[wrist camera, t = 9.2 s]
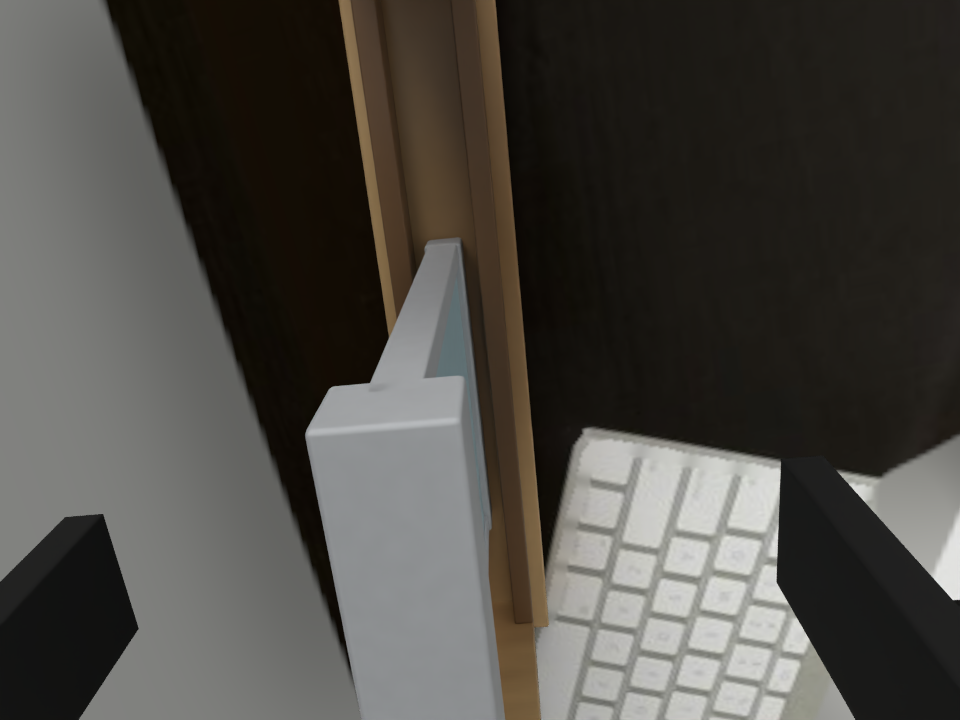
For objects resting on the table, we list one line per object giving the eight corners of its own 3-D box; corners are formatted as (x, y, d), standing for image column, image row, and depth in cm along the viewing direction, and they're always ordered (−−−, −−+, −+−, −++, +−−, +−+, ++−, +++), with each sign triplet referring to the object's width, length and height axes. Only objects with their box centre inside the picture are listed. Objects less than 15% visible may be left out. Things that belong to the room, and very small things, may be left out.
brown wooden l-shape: (436, 607, 27) (374, 1162, 13) (333, -95, 20) (-68, -555, 6) (546, 599, 27) (602, 1154, 13) (485, -113, 20) (460, -639, 5)
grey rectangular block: (446, 517, 24) (400, 924, 12) (409, 241, 21) (301, 432, 9) (508, 512, 24) (521, 918, 12) (479, 234, 21) (460, 418, 9)
